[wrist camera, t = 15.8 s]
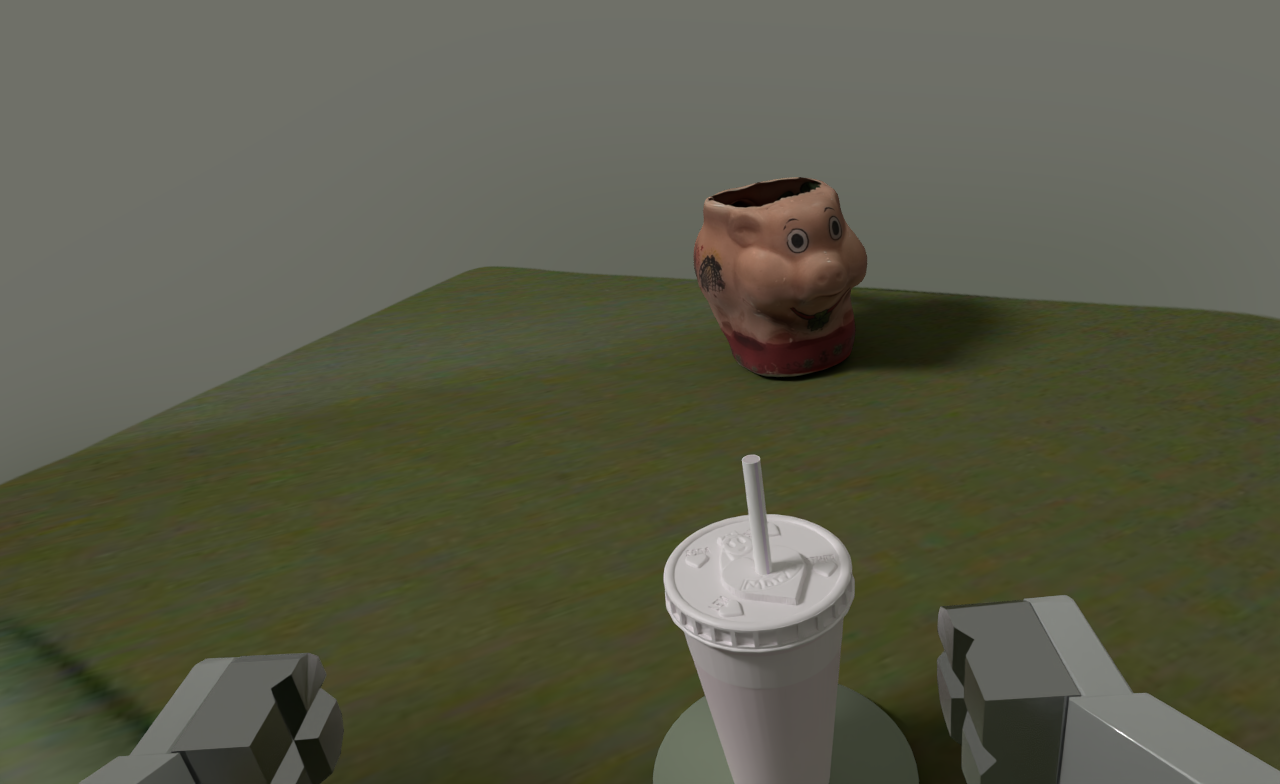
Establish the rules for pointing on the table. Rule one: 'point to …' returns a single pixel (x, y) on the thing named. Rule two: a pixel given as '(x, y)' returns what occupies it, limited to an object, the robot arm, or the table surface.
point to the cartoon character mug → (781, 274)
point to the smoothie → (765, 635)
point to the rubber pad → (861, 753)
